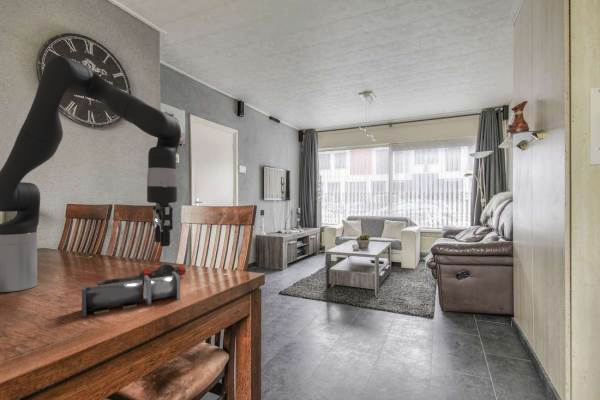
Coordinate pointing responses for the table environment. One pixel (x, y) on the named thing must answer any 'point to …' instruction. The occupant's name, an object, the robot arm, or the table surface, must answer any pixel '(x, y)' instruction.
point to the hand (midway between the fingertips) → (162, 244)
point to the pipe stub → (111, 296)
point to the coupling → (161, 287)
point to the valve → (149, 274)
